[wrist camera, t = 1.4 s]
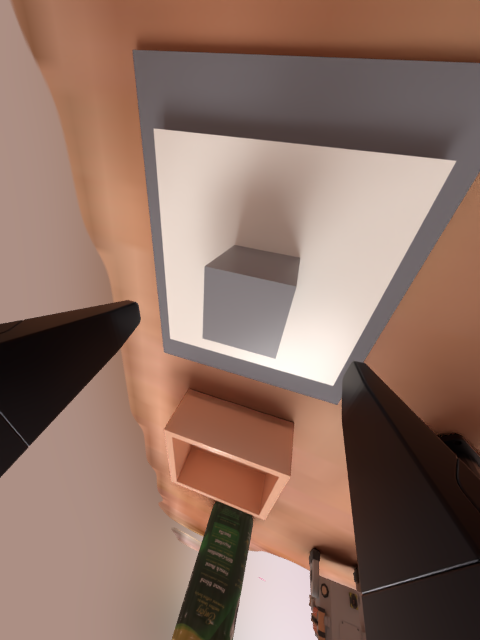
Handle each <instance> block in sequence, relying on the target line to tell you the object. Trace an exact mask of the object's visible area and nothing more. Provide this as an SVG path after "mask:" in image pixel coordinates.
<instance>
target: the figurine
mask: <svg viewBox="0 0 480 640" xmlns="http://www.w3.org/2000/svg"><path fill="white" fill-rule="evenodd" d="M319 561H320V552H319V551H318V550H316V549H313V550H312V552H311V553H310V556H309V564H310V588H311V595H309V597H310V603H309V606H311V610H312V612H313V613H311V615H312V618H311V621H312V622H313V629H314V631H315V636H316V637H317V638H318V640H366V634H365V625H364V616H363V607H362V598H361V595H362V593H361V587H360V578H359V569H357V568H356V569H355V570H354V573H353V575H354V581H355V582H356V589H357V590H354V589H352V588H349V587H347V586H344V585H341V584H339V583H336V582H334V581H331V580H329V579H326V578H324V577H321V576H319Z"/></svg>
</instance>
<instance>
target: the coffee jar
mask: <svg viewBox="0 0 480 640" xmlns="http://www.w3.org/2000/svg"><path fill="white" fill-rule="evenodd" d="M252 527H253V519H252V516H251V515H250V514H248V513H246V512H243V511H241V510H238V509H236V508H233V507H231V506H229V505H226V504H224V503H221V502H219V501H217V502H216V503H215V504H214V506H213V509H212V512H211V515H210V518H209V521H208V524H207V528H206V531H205V534H204V537H203V541H202V544H201V547H200V550H199V553H198V556H197V560H196V563H195V566H194V569H193V572H192V575H191V578H190V581H189V585H188V588H187V591H186V594H185V598H184V601H183V604H182V607H181V611H180V614H179V617H178V621H177V624H176V627H175V630H174V634H173V637H172V640H233V635H234V630H235V624H236V618H237V612H238V607H239V601H240V595H241V590H242V584H243V578H244V572H245V567H246V561H247V555H248V550H249V545H250V539H251V533H252Z"/></svg>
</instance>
